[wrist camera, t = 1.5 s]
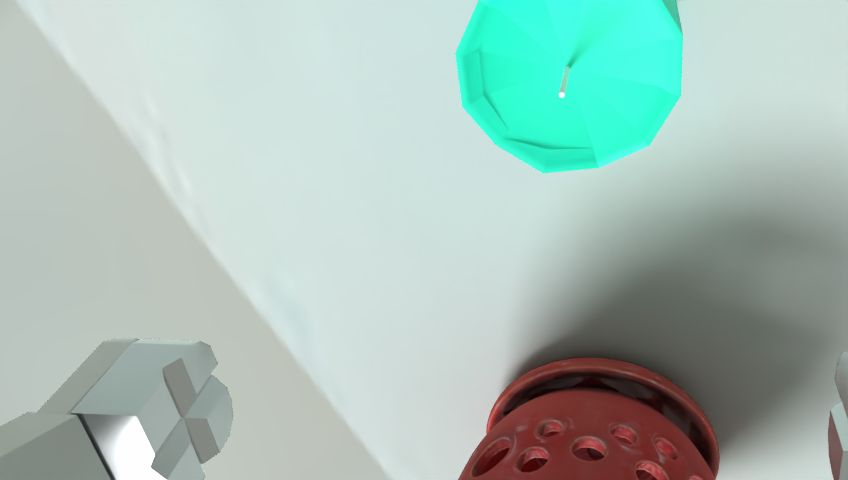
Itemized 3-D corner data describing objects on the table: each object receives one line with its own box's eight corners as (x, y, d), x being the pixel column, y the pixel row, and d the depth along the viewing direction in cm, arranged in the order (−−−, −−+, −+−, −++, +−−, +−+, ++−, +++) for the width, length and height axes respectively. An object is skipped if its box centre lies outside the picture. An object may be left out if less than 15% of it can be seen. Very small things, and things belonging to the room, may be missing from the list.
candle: (485, -67, 28) (406, 20, 18) (645, -133, 26) (653, -73, 16) (536, 78, 31) (490, 224, 21) (686, 30, 28) (715, 169, 19)
